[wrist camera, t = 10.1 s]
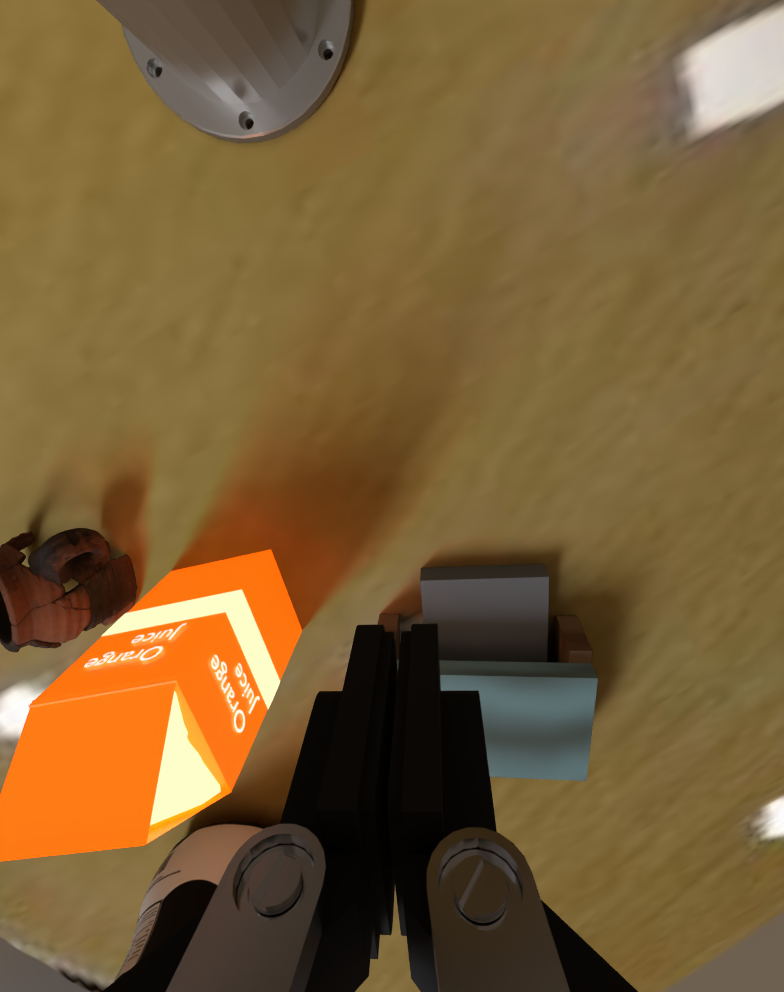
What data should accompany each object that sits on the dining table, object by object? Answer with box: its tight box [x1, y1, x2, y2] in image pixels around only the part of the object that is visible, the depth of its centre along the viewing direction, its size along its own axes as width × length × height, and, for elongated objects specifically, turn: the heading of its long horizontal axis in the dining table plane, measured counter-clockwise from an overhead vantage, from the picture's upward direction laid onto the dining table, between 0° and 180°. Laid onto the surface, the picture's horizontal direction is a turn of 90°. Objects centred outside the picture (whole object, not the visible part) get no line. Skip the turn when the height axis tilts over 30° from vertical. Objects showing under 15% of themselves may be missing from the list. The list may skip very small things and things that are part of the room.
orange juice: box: [0, 550, 302, 861], centre depth 30 cm, size 8×9×20 cm
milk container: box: [113, 821, 267, 983], centre depth 42 cm, size 17×17×18 cm
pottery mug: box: [0, 528, 137, 652], centre depth 37 cm, size 12×10×8 cm
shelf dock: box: [378, 614, 598, 781], centre depth 37 cm, size 12×15×6 cm
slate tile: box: [420, 564, 549, 662], centre depth 38 cm, size 14×9×2 cm, turn 5°
